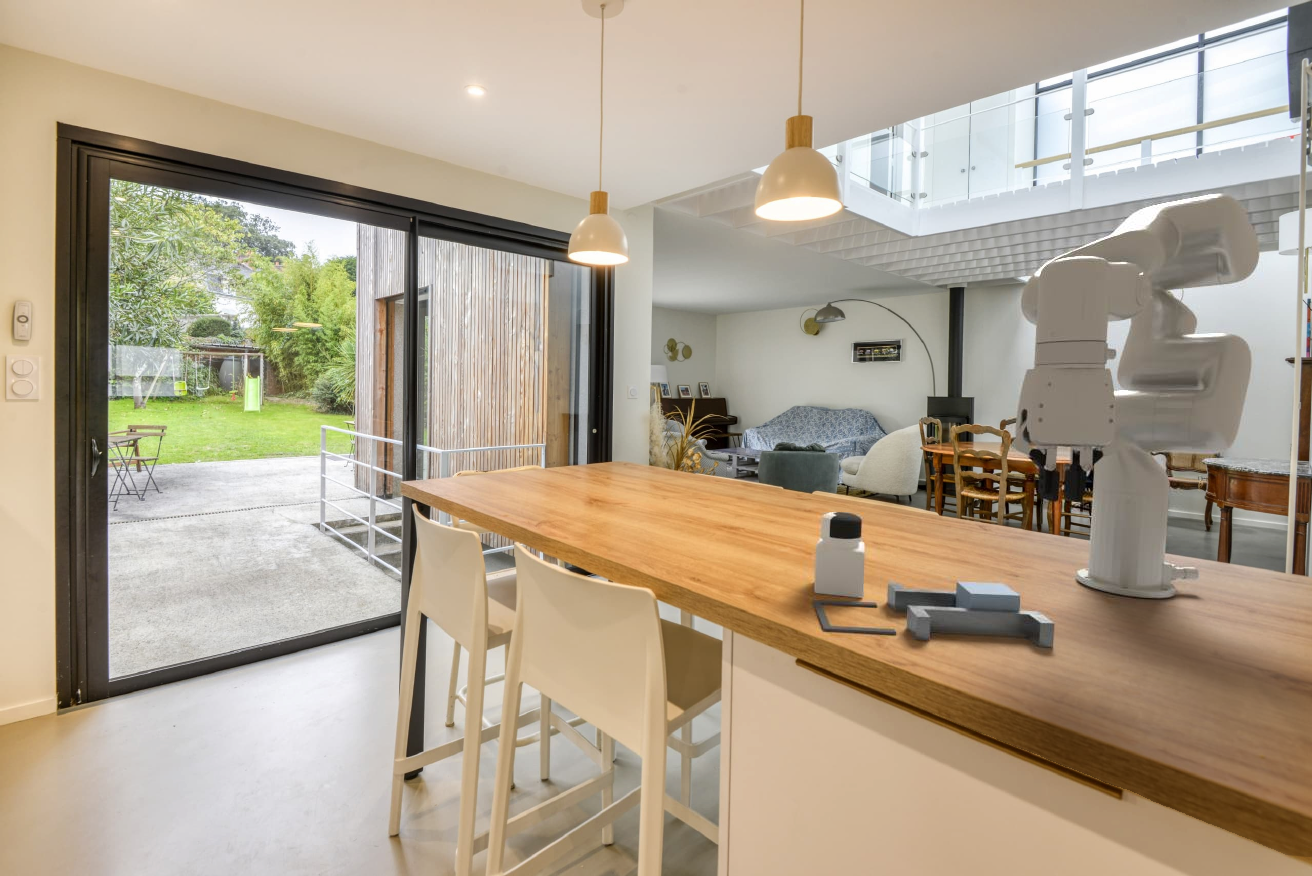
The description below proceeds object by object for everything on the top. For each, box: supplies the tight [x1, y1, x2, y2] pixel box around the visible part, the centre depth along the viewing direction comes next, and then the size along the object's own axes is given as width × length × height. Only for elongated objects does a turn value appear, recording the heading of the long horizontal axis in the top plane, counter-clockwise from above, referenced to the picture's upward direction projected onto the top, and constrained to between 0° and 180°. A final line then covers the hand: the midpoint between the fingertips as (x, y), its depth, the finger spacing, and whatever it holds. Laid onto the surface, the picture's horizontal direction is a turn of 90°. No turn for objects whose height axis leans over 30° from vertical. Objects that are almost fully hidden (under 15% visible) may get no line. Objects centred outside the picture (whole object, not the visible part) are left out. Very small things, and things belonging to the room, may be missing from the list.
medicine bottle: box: [814, 511, 866, 599], centre depth 94 cm, size 7×7×12 cm
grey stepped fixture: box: [886, 581, 1055, 648], centre depth 81 cm, size 16×14×3 cm
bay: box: [812, 599, 897, 635], centre depth 82 cm, size 9×11×1 cm
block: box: [955, 581, 1021, 611], centre depth 80 cm, size 6×5×5 cm
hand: (1061, 499), depth 78 cm, fingers closed
